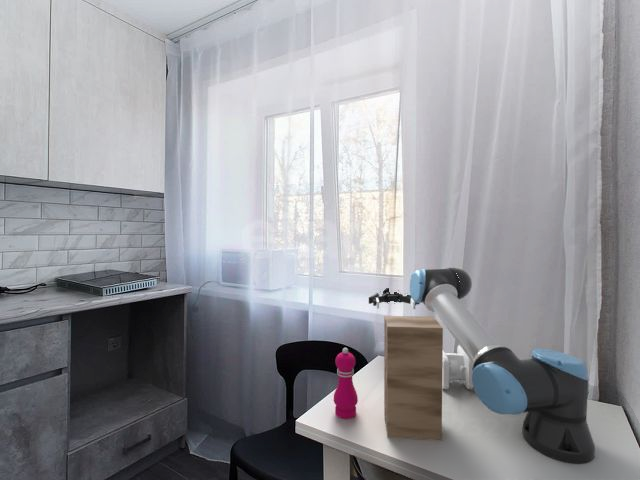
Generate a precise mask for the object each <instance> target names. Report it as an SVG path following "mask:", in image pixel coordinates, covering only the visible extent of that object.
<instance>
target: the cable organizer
mask: <svg viewBox="0 0 640 480" xmlns="http://www.w3.org/2000/svg"><path fill="white" fill-rule="evenodd" d="M456 350H457V352H456V353H455V352H445V350H443V360H442V390H449V388H450V385H451V386H453V381H459V382H460V384H461V385H462V384H463V385H465V387H466V390H473V389H474V385H473V383H472V373H473V372H472V365H473V363H472V361H471V360H470V359H469V357H468V356H467V355H466V353H465V352H464V350H463V349H462V348H461V346H460V345H459V344H458V345H457V348H456Z"/></svg>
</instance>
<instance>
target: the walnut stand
mask: <svg viewBox="0 0 640 480" xmlns="http://www.w3.org/2000/svg"><path fill="white" fill-rule="evenodd" d="M383 318H384V320H383V321H384V323H383V324H384V326H383V327H384V329H383V330H384V331H383V333H384V334H383V335H384V336H383V337H384V338H383V340H384V341H383V342H384V343H383V347H384V349H383V351H384V354H383V355H384V357H383V359H384V360H383V362H384V364H383V367H384V368H383V371H384V372H383V375H384V376H383V377H384V378H383V379H384V380H383V382H384V385H383V386H384V387H383V393H384V395H383V397H384V400H383V401H384V402H383V403H384V404H383V407H384V409H383V413H384V414H383V416H384V423H385V430H386V436H387V438H394V439H409V440H425V441H426V440H427V441H428V440H429V441H442V440H443V437H442V434H443V431H442V430H443V389H442V360H443V351H444V349H443V347H444V346H443V341H444V337H443V336H444V327H443V326H442V325H441V324H440V323H439V321H438V320H437V319H436V317H435V316H418V315H417V316H416V315H414V316H411V315H410V316H408V315H383Z"/></svg>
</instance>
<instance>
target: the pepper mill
mask: <svg viewBox="0 0 640 480" xmlns="http://www.w3.org/2000/svg"><path fill="white" fill-rule="evenodd" d="M334 363H335V366H336V368H337V369H336V371H337V372H336V374H337V376H338V383H337V386H336V389H335V391H334V392H333V393H334V394H333V402H334V405H335V407H334V408H335V410H334V413H335V415H336V416H337V417H338V418H340V419H342V420H349V419H353V418H354V417H355V416H356V415H357V406H356V405H358V401H359V400H358V393H357V390H356V388H355V386H354V382H353V376H354V374H355V372H354V371H355V369H354V367H355V366H356V357H355V356H354V355H353V353H351V352H350V351H349V349H348V348H347V347H344V348H342V352H340V353H338V354H337V356H336V357H335V362H334Z"/></svg>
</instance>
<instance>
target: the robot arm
mask: <svg viewBox="0 0 640 480" xmlns="http://www.w3.org/2000/svg"><path fill="white" fill-rule="evenodd" d="M444 268H445V269H422V270H416V271H414V272H413V274H412V275H411V276H410V279H409V293H410V294H409V295H407V296H403V294H402V293H400V294H399V293H397V292H394V294H390V292H389V288H386V289H385V290H384V291H383V294H380V293H379V292H376V293H375V294H373V295H370V296H369V297H368V304H372V305H373V306H375V307H376V309H378V310H379V309H380V304H381V303H387V304H389V303H388V302H390V301H394V302H396V303H400V304H401V303H405V304H409V305H410V307H411V308H412V310H416V306H417V305H420V304H421V303H422V304H423V305H424V306H425V308H426V309H427V310H429V312H433V313H435V314H436V315H437V316H438V318H439V319H440V320H441V321H442V323H443V324H444V326H445V328H446V329H447V330H448V331H449V333H450V334H451V335H452V337H453V339H454V340H455V341H456V343H457V344H458V345H460V346H461V348H462V349H463V350H464V352H465V353H466V355H467V356H468V357H469V359H470V360H471V361H472V363H473V365H472V372H473V373H472V383H473V387H474V388H473V389H474V392H475V394H476V396H477V397H478V399H479V401H480V402H481V403H482V405H484V406H485V407H486V408H487V409H488V410H489V411H491V412H493V413H496V414H497V415H513V416H515V415H521V414H523V413H524V414H525V413H527V414H526V416H525V418H524V419H523V423H522V424H521V425H522V427H521V428H522V432H521V434H522V437H523V439H524V440H525V441H526V442H527V444H528V445H529V446H530V447H532V448H533V449H535V450H537V451H538V452H539V453H542V454H543V455H545V456H547V457H550V458H552V459H555V460H556V461H557V460H558V461H561V462H564V463H569V464H570V463H571V464H585V463H589V462H591V461H593V460H594V459H595V450H596V448H595V442H594V440H593V437H592V433H591V431H590V428H589V425H588V421H587V413H588V412H587V411H588V395H589V394H588V393H589V392H588V390H589V381H590V379H589V368H588V367H587V365H586V363H585V362H584V361H583V360H581V359H579V358H577V357H575V356H573V355H570V354H567V353H564V352H560V351H557V350H552V349H546V348H535V349H533V350H532V352H531V353H530V356H531V358H527V359H520V358H519V357H518V356H517V355H516V354H515V353H514V352H513V351H512V349H511V348H510V347H508V346H505V345H504V346H503V345H499V343H498V342H497V341H496V340H495V339H494V338H493V336H492V335H491V334H490V333H489V331H487V329H485V327H484V326H483V325H482V324H481V323H480V321H478V319H477V318H476V317H475V316H474V315H473V314H472V313H471V311H470V310H469V309H468V307H466V305H465V304H464V302H462V301H461V299H464V298H465V297H466V296H467V295H468V294H469V293H470V292H471V290H472V288H473V287H472V286H473V284H472V283H473V282H472V278H471V275H469V274H468V272H466V271H465V270H464V269H462V268H457V267H453V268H451V267H447V268H446V267H444ZM456 273H457V274H456ZM457 275H458V276H457ZM458 277H459V278H458ZM459 281H460V282H459Z"/></svg>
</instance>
